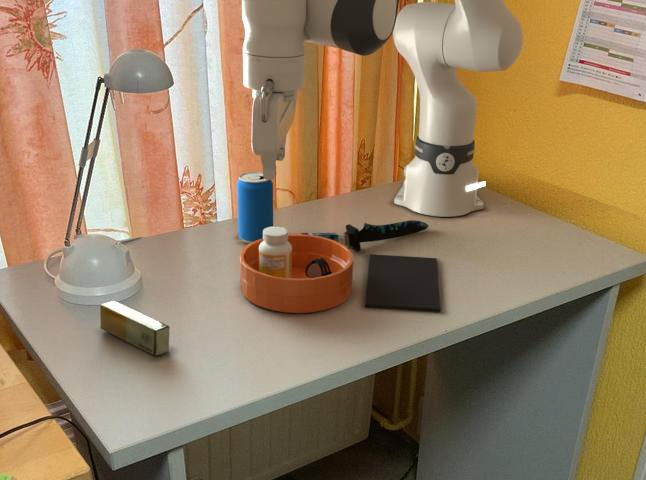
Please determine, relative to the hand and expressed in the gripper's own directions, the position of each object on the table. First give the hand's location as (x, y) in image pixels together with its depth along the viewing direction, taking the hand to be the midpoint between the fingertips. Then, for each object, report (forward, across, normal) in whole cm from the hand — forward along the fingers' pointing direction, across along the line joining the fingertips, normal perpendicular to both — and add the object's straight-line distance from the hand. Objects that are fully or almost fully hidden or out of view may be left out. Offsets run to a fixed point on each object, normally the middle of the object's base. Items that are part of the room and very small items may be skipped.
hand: (274, 168), depth 121 cm
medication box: (+21, -20, +17) cm, 33 cm away
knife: (+20, +20, -15) cm, 32 cm away
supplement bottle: (+20, 0, 0) cm, 20 cm away
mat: (+20, +5, -21) cm, 30 cm away
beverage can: (+20, +20, +6) cm, 29 cm away
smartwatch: (+20, 0, -7) cm, 21 cm away
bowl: (+20, 0, -4) cm, 20 cm away
